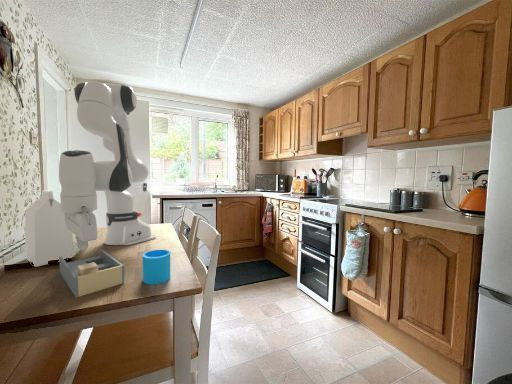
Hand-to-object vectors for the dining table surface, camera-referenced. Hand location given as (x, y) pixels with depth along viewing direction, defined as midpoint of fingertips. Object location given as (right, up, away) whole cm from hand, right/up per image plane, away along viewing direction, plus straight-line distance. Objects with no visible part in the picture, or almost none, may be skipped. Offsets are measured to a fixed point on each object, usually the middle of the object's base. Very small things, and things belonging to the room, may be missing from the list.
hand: (82, 248), depth 73 cm
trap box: (+1, -10, +2) cm, 10 cm away
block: (+6, -7, -6) cm, 11 cm away
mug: (+21, -10, +4) cm, 24 cm away
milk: (-25, -8, +18) cm, 32 cm away
